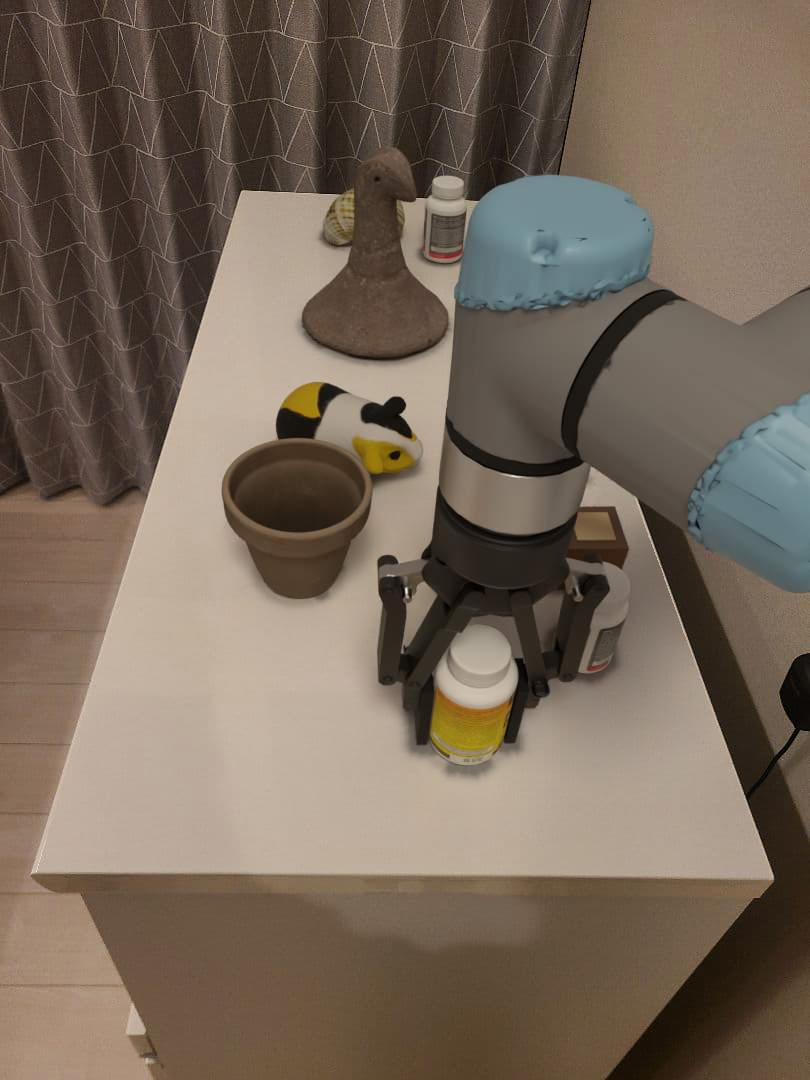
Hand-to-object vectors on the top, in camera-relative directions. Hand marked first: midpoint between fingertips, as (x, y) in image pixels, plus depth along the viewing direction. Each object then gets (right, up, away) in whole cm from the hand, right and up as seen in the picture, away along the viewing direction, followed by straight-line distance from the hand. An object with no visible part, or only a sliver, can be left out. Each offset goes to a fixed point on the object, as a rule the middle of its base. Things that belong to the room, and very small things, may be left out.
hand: (464, 726), depth 60 cm
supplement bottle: (0, -1, 0) cm, 1 cm away
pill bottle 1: (+1, +51, +51) cm, 73 cm away
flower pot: (-13, +11, +10) cm, 20 cm away
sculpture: (-8, +39, +39) cm, 56 cm away
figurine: (-10, +21, +21) cm, 31 cm away
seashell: (-10, +55, +54) cm, 78 cm away
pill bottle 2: (+10, +5, +6) cm, 12 cm away
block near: (+11, +11, +12) cm, 20 cm away
